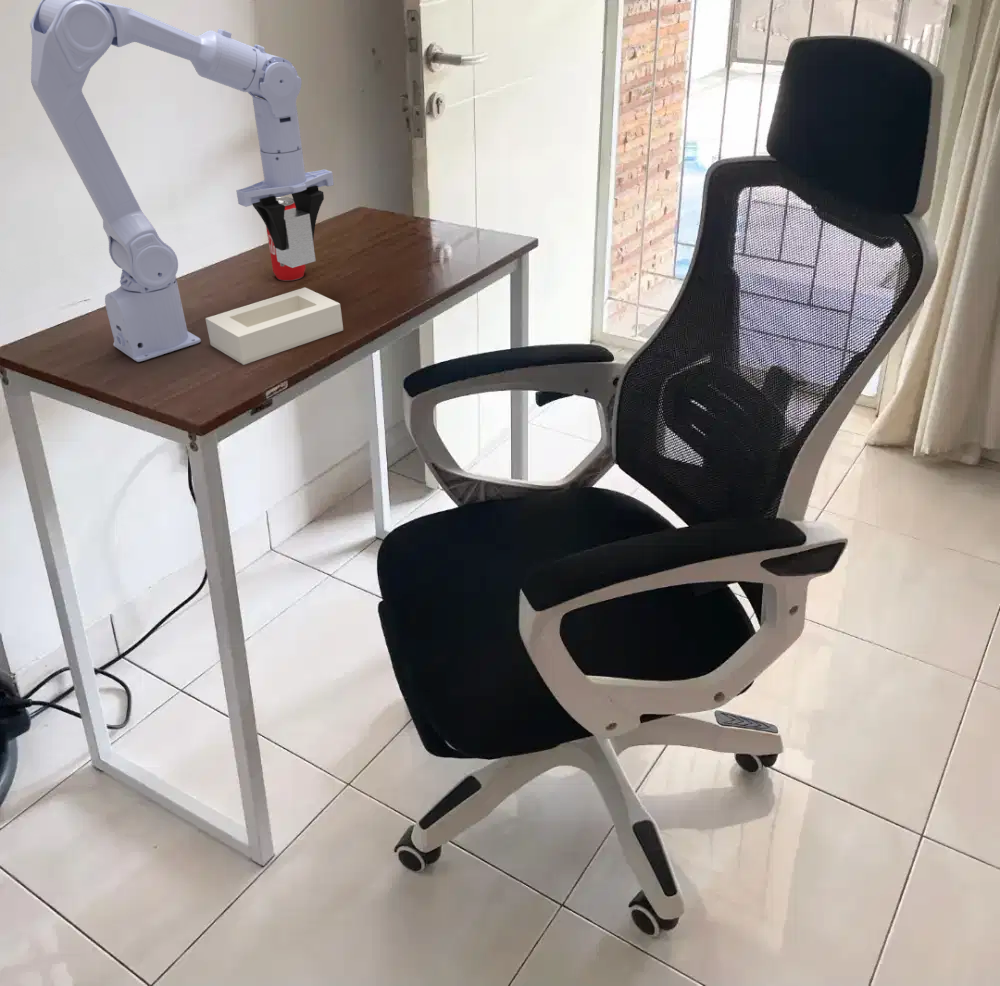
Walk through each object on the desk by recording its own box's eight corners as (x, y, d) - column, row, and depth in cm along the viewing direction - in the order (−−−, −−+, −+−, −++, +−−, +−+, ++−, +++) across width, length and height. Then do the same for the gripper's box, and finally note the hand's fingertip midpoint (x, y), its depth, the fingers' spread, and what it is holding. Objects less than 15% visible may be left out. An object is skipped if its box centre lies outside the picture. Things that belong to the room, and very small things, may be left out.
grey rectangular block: (292, 267, 145) (285, 219, 141) (277, 261, 147) (270, 214, 143) (315, 261, 147) (309, 213, 143) (300, 254, 149) (294, 207, 146)
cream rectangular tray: (243, 364, 133) (238, 337, 131) (210, 345, 139) (205, 318, 137) (343, 330, 142) (340, 303, 140) (308, 313, 148) (305, 287, 146)
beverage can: (299, 282, 159) (288, 207, 152) (269, 280, 160) (257, 205, 153) (311, 271, 163) (301, 197, 157) (281, 269, 164) (270, 196, 158)
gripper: (249, 163, 132) (265, 263, 139) (341, 143, 140) (351, 239, 147) (222, 154, 136) (239, 251, 143) (313, 135, 144) (324, 228, 152)
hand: (294, 244), depth 146 cm, fingers closed on grey rectangular block, 4 cm apart
